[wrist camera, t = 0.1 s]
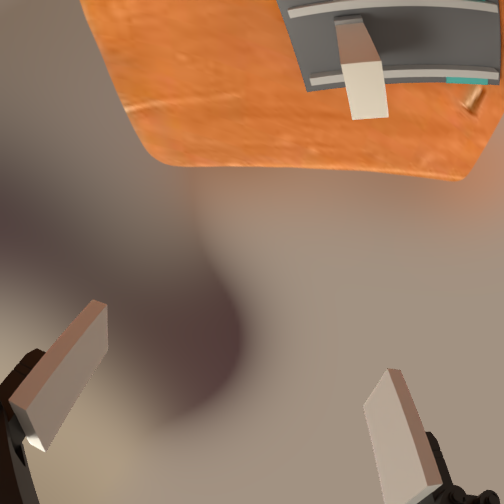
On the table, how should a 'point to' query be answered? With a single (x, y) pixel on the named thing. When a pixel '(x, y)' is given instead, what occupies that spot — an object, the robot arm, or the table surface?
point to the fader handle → (361, 69)
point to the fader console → (400, 39)
